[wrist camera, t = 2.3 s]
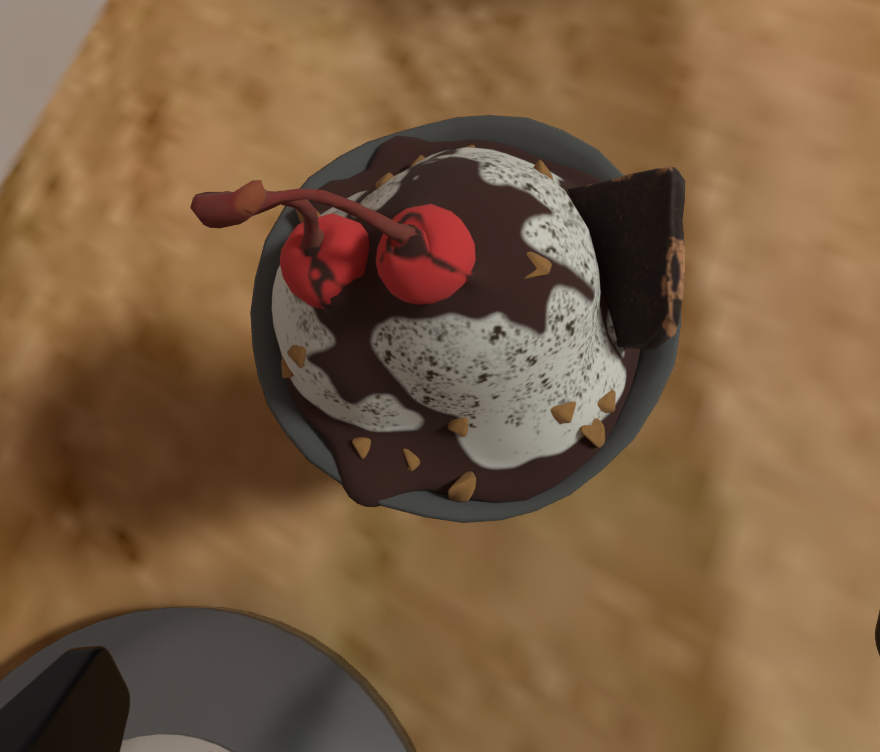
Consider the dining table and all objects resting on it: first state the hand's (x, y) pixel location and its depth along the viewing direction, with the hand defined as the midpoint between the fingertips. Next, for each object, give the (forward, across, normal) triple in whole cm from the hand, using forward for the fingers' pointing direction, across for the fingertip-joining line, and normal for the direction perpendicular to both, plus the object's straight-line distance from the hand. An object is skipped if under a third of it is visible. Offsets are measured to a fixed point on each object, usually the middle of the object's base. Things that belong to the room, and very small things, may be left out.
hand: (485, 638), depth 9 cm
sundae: (+12, 0, +5) cm, 13 cm away
